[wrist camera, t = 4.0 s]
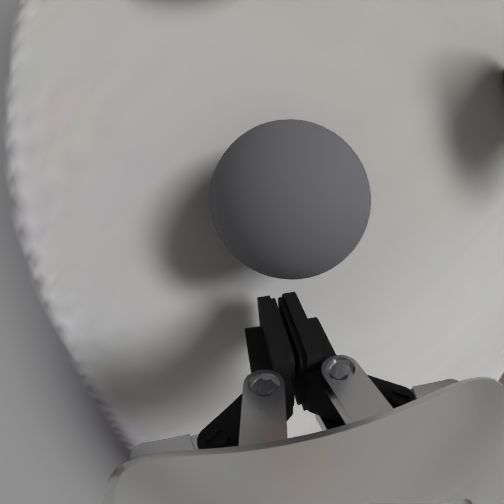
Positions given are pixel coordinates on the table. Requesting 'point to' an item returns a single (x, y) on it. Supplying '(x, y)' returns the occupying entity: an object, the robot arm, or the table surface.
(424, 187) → the table surface
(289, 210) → the gray ball
